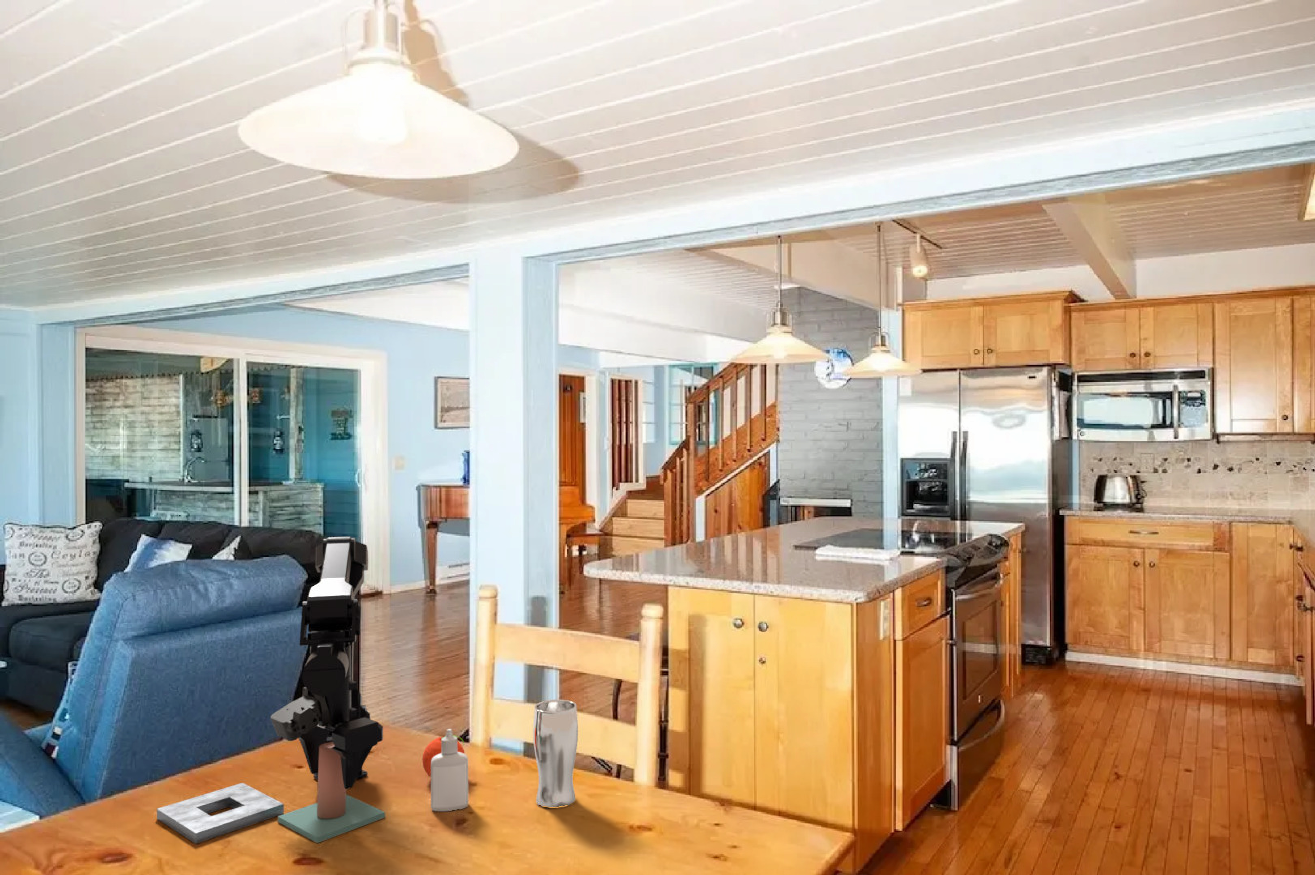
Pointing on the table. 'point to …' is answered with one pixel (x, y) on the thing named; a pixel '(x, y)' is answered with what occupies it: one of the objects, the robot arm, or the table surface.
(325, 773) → the pink rounded cylinder
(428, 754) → the clementine
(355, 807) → the rubber mat
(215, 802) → the grey square hole plate
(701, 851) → the table surface
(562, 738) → the beer glass
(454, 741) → the eye dropper bottle
